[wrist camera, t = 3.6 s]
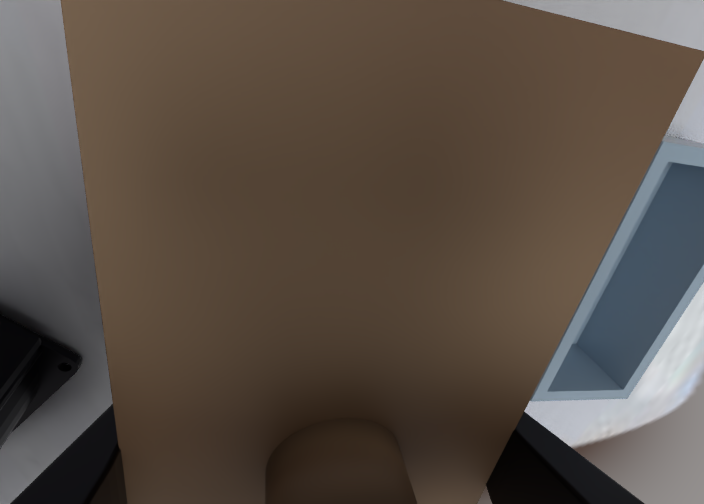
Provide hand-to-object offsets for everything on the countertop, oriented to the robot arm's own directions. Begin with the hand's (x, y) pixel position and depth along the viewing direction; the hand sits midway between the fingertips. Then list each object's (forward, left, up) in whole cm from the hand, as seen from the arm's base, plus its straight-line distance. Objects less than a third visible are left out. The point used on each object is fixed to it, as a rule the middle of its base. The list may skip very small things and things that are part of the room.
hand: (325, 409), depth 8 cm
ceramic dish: (+9, -11, -10) cm, 17 cm away
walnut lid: (0, 0, -1) cm, 1 cm away
